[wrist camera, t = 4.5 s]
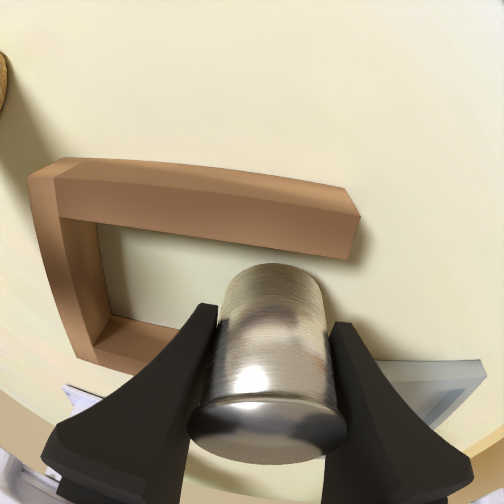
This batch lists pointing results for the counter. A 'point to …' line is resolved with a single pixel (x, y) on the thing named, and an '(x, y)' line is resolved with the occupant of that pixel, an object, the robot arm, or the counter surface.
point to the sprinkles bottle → (2, 79)
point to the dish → (433, 385)
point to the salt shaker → (270, 373)
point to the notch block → (165, 220)
